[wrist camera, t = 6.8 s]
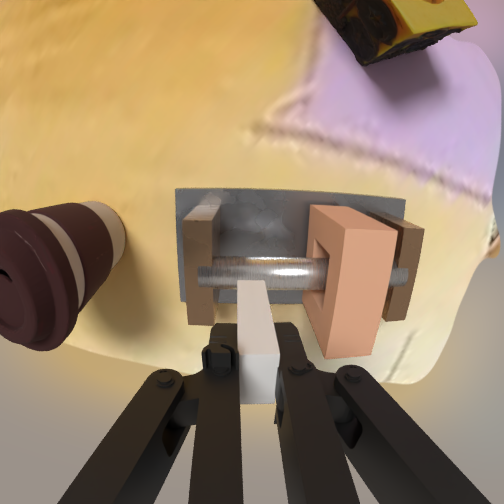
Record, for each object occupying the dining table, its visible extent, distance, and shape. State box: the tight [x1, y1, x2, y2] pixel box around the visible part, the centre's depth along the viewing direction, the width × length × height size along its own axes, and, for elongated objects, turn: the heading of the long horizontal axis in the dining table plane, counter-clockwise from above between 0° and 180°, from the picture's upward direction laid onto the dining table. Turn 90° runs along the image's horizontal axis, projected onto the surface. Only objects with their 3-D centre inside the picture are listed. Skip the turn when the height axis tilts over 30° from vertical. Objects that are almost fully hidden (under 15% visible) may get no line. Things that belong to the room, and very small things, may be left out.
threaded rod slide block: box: [175, 188, 424, 326], centre depth 23 cm, size 22×11×8 cm, turn 88°
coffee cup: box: [0, 201, 125, 351], centre depth 19 cm, size 10×10×15 cm
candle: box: [314, 0, 478, 66], centre depth 15 cm, size 10×10×10 cm
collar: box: [302, 204, 398, 359], centre depth 21 cm, size 4×9×9 cm, turn 179°
